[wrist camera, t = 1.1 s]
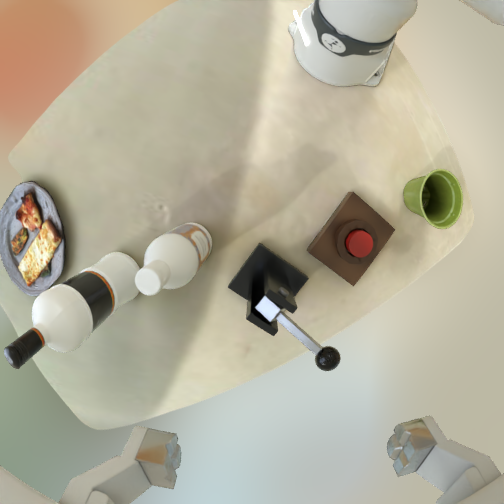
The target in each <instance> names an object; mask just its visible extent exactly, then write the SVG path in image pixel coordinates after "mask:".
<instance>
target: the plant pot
mask: <svg viewBox="0 0 504 504" xmlns="http://www.w3.org/2000/svg"><path fill="white" fill-rule="evenodd" d="M423 187H425V189H424V188H423ZM404 202H405V204H406V206H407V208H408V209H409V210H410V211H412V212H414V213H416V214H418V215H420V216H422V217H424V218H425V219H426V221H427V222H428V223H429V224H430V225H432V226H433V227H435V228H438V229H447V228H449V227H451V226H452V225H454V224H455V223H456V221H457V220H458V218H459V216H460V214H461V211H462V206H463V194H462V189H461V186H460V184H459V182H458V180H457V178H456V177H455V176H454V175H453V174H452V173H451V172H449V171H447V170H445V169H436V170H433V171H431V172H430V173H429V174H428V175H427V176H424V177H420V178H417V179H413V180H411V181H409V182H408V183H407V184H406V186H405V188H404ZM425 202H426V204H425ZM424 204H425V206H424V207H423V205H424Z"/></svg>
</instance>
